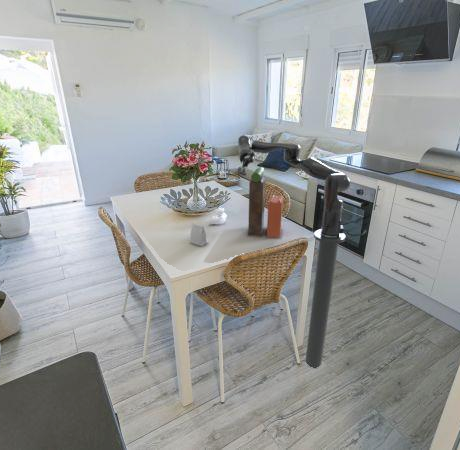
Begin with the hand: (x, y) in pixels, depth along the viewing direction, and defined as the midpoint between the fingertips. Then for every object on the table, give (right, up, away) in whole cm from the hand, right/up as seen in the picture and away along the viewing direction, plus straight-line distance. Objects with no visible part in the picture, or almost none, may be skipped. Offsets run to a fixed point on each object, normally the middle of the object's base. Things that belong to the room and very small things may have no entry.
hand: (247, 168), depth 173 cm
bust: (-17, -31, +13) cm, 37 cm away
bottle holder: (+15, -36, +1) cm, 39 cm away
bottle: (+6, -6, -5) cm, 10 cm away
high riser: (+5, -35, +2) cm, 36 cm away
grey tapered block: (-25, -41, -12) cm, 50 cm away
